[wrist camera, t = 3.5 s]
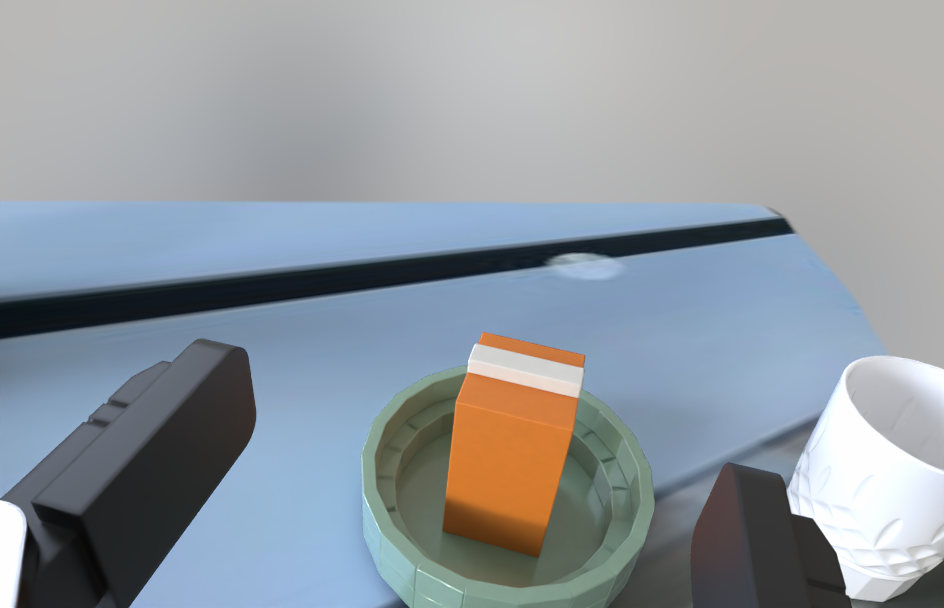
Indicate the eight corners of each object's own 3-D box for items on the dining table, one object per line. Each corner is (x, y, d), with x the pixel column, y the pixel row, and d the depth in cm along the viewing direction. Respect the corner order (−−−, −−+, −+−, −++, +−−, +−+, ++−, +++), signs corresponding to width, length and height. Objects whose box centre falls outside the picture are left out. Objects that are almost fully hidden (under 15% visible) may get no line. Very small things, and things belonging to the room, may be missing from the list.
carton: (441, 531, 32) (456, 388, 26) (466, 457, 36) (484, 318, 30) (538, 558, 31) (577, 417, 25) (553, 479, 35) (589, 341, 29)
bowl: (306, 502, 33) (300, 451, 30) (491, 378, 42) (498, 332, 39) (511, 725, 25) (525, 681, 23) (684, 517, 34) (706, 470, 32)
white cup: (900, 650, 29) (1031, 522, 23) (740, 540, 33) (818, 408, 27) (935, 544, 34) (1051, 417, 28) (792, 460, 38) (868, 334, 32)
